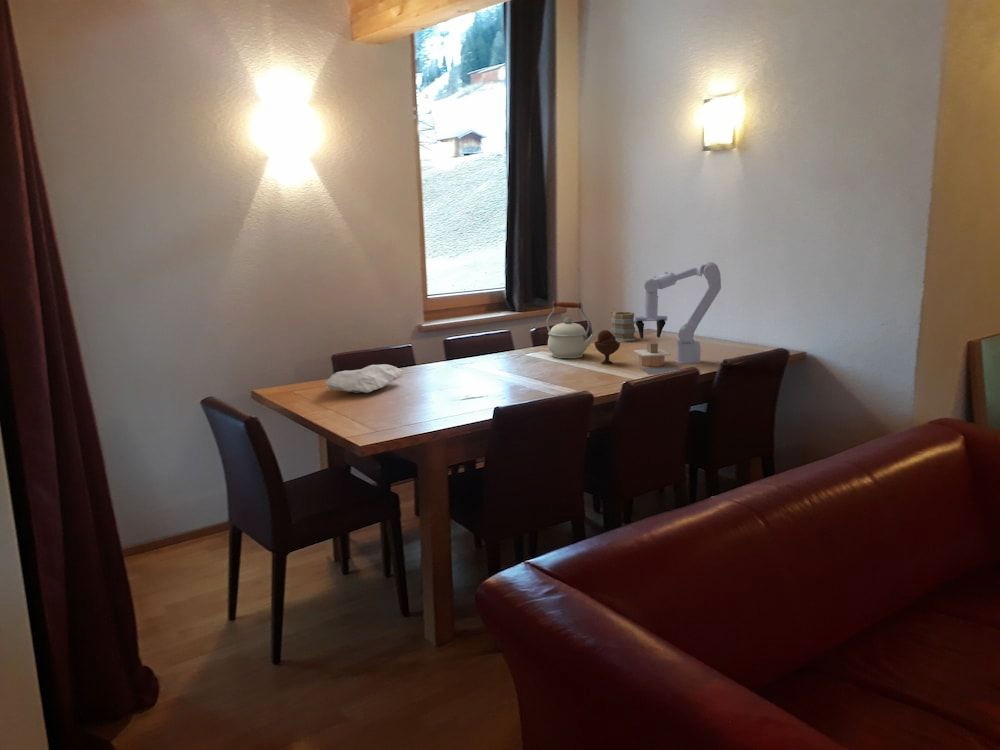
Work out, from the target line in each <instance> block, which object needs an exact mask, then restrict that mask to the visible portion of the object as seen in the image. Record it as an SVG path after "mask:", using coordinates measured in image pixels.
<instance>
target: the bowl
mask: <svg viewBox="0 0 1000 750" xmlns="http://www.w3.org/2000/svg"><path fill="white" fill-rule="evenodd" d="M638 363H639V365H640V366H644V367H661V366H664V365H665V356H647V357H643V356H641V355H639V354H638Z"/></svg>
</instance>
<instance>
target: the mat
mask: <svg viewBox="0 0 1000 750" xmlns="http://www.w3.org/2000/svg"><path fill="white" fill-rule="evenodd" d="M639 369H640V371H643V372H645V373H646V374H648V376H649V375H650V376H651V375H661V374H660V373H665V372H669V371H673V370H679V369H681V368H680V367H678V366H662V367H661V366H657V367H645V368H644V367H643V368H642V367H641V368H639Z"/></svg>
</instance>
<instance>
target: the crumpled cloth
mask: <svg viewBox="0 0 1000 750" xmlns="http://www.w3.org/2000/svg"><path fill="white" fill-rule="evenodd" d="M403 373H404V371H403V369H401V368H398V367H397V366H393V365H391V364H385V363H383V364H371V365H370V364H369V365H367V366H365V367H363V368H361V369H354V370H353V369H351V370H342V371H337V372H334V373H333V374H332V375H331V376H330V377H328V380H326V381H325V382H324V385H325V386H326V387H327V388H328V389H330V390H335V391H342V392H348V393H351V392H352V393H354V394H359V393H366V394H367V393H371V392H373V391H376V390H378V389H381V388H384V387H386V386H387V385H389V384H390V383H392V382H394V381H396V380H398V379H399V378H401V376H403Z"/></svg>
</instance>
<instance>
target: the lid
mask: <svg viewBox="0 0 1000 750" xmlns="http://www.w3.org/2000/svg"><path fill="white" fill-rule="evenodd" d="M633 352H634V353H636V354H638V356H639V355H641V356H643V357H647V356H671V355H672V354H671V353H670V352H668V351H666V350H663V349H662V348H659V344H658V343H657V342H655V341H646V349H634V350H633Z"/></svg>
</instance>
